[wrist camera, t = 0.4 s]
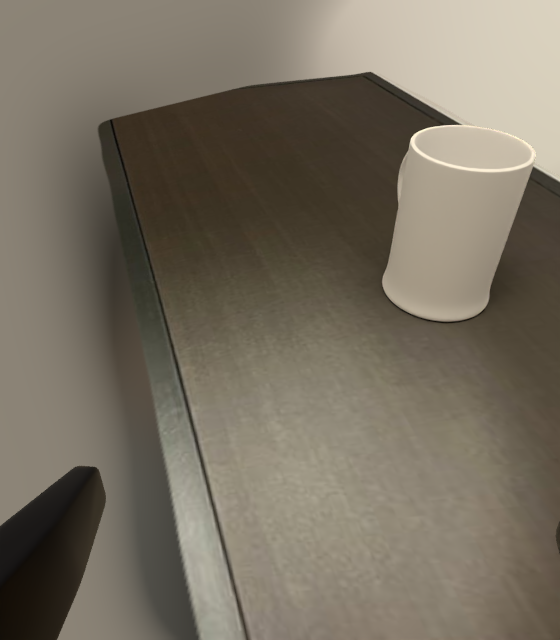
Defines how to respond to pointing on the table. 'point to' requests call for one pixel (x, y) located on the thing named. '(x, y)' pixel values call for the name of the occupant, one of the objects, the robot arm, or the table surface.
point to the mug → (454, 218)
